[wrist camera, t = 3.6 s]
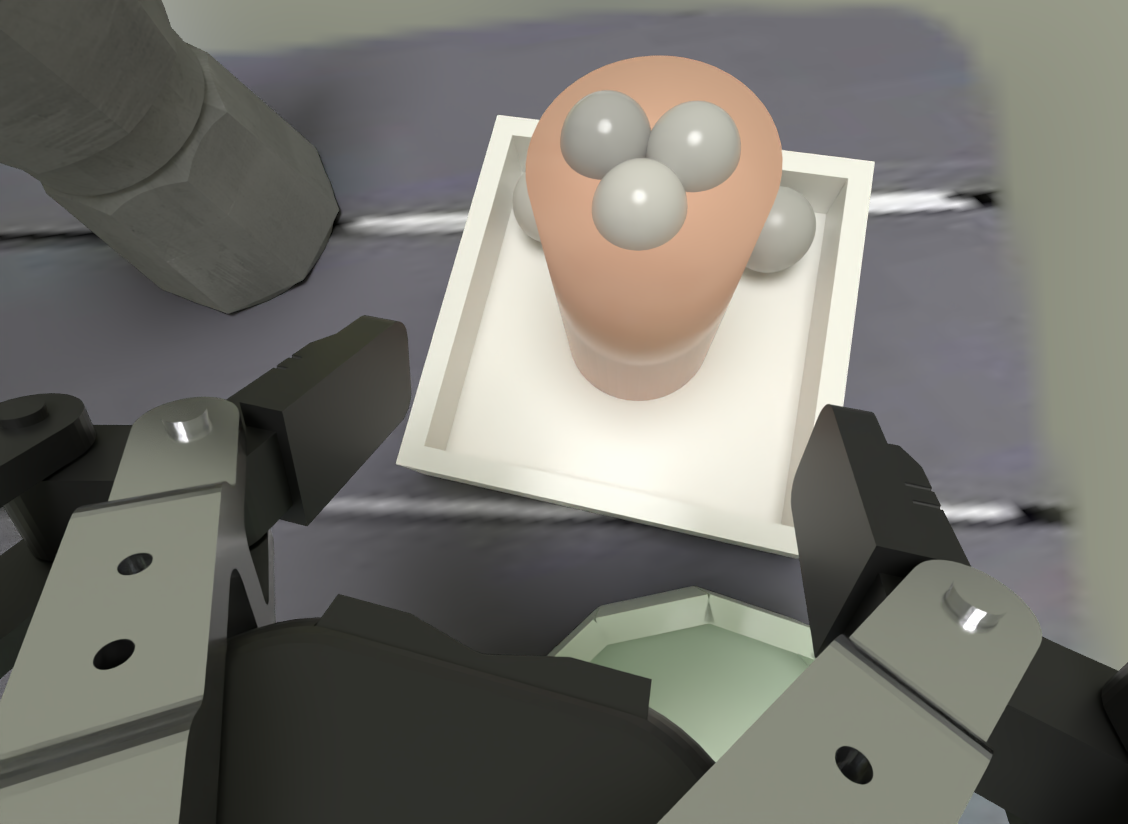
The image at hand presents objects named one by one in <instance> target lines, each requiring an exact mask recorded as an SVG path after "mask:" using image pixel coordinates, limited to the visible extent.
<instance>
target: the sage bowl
mask: <svg viewBox="0 0 1128 824" xmlns="http://www.w3.org/2000/svg"><path fill="white" fill-rule="evenodd" d="M547 656H556V657H572V658H576V659H579V660H583V661H587V662H590V663H594V664H598V665H601V666H605V667H609V668H612V669H616V670H620V671H623V672H627V673H631V674H634V675H638V676H642V677H645V678H649V679H652V682H651V691H650V700H649V707H650V708H652V709H654V710H655V711H657V712H659V713H660V714H662V715H664V716H665V717H666V718H668V719H669V720H671V721H672V722H673V723H675V724H676V725H678V726H679V727H680V728H682V729H683V730H684V731H685V732H686V733H687V734H688V735H689V736H690V737H692V738H693V739H694V740H695V741H696V742H697V743H698V744H699V745H700V746H701V747H702V748H703V749H704V750H705V751H706V752H707V753H708V755H709V756H710V757H711V758H712V759H713V760H714V761H715V762H717V761H718V760H719V759H720V758H721V757H722V756H723V755H724V754H725V753H726V751H727V750H728V749H729V748H730V747H731V746H732V745H733V744H734V743H735V742H736V741H737V740H738V739H739V738H740V737H741V736H742V735H743V734H744V733H745V732H746V731H747V730H748V729H749V728H750V727H751V726H752V724H753V723H754V722H755V721H756V720H757V719H758V718H759V717H760V716H761V715H762V714H763V713H764V712H765V711H766V710H767V709H768V708H769V707H770V706H771V705H772V704H773V703H774V702H775V701H776V700H777V699H778V698H779V696H780V695H781V694H782V693H783V692H784V691H785V690H786V689H787V688H788V687H789V686H790V685H791V684H792V683H793V682H794V681H795V680H796V679H797V678H798V677H799V676H800V675H801V674H802V673H803V672H804V671H805V669H806V668H807V667H808V666H809V665H810V664H811V663H812V662H813V661H814V660H815V659H816V658H815V657H814V650H813V644H812V637H811V631H810V626H809V625H806V624H804V623H802V622H799V621H797V620H795V619H792V618H790V617H787V616H784V615H781V614H778V613H775V612H772V611H769V610H766V609H763V608H760V607H757V606H754V605H751V604H748V603H745V602H742V601H739V600H736V599H733V598H730V597H727V596H724V595H721V594H718V593H715V592H712V591H709V590H706V589H703V588H700V587H697V586H695V587H694V586H691V587H686V588H681V589H676V590H672V591H667V592H662V593H658V594H653V595H648V596H644V597H639V598H634V599H630V600H625V601H620V602H616V603H611V604H606V605H602V606H600V608H599V607H598V608H597V609H595V610H594V611H593V612H592V613H591V614H590V615H589V616H588V617H587V618H586V619H585V620H584V621H583V622H582V623H581V624H580V625H579V626H578V627H576V628H575V629H574V630H573V631H572V632H571V633H570V634H569V635H568V636H567V637H566V638H565V639H564V640H563V641H562V642H561V643H560V644H559V645H558V646H556V647H555V648H554V649H553V650H552V651H551V652H550V653H549V654H548V655H547ZM957 824H958V823H957Z"/></svg>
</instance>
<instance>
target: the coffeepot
mask: <svg viewBox="0 0 1128 824" xmlns="http://www.w3.org/2000/svg"><path fill="white" fill-rule="evenodd" d="M0 163H2V164H5V165H8V166H11V167H15V168H18V169H21V170H23V171H25V172H27V173H28V174H30V175H31V176H33V177H34V178H36V179H38V180H39V181H41V183H42V185H43V187H44V189H45V192H46V193H47V194H48V195H49V196H50V197H52V198H53V199H54V200H55V201H56V202H58V203H59V204H60V205H61V206H62V207H64V208H65V209H66V210H67V211H68V212H70V213H71V214H72V215H73V216H74V217H76V218H77V219H78V220H79V221H80V222H82V223H83V224H84V225H85V226H86V227H88V228H89V229H90V230H91V231H92V232H94V233H95V234H96V235H97V236H98V237H100V238H101V239H102V240H103V241H104V242H106V243H107V244H108V245H109V246H110V247H112V248H113V249H114V250H115V251H116V252H118V253H119V254H120V255H121V256H122V257H124V258H125V259H126V260H127V261H128V262H130V263H131V264H132V265H133V266H134V267H136V268H137V269H138V270H139V271H140V272H142V273H143V274H144V275H145V276H146V277H148V278H149V279H150V280H151V281H152V282H154V283H155V284H156V285H157V286H158V287H160V288H161V289H162V290H165V291H167V292H170V293H173V294H176V295H178V296H181V297H183V298H186V299H188V300H191V301H193V302H195V303H198V304H201V305H205V306H208V307H211V308H213V309H216V310H219V311H222V312H224V313H227V314H229V313H232V312H235V311H238V310H242V309H245V308H248V307H251V306H254V305H257V304H260V303H262V302H265V301H268V300H271V299H272V298H274V297H276V296H278V295H280V294H282V293H283V292H285V291H287V290H288V289H289V288H291V287H292V286H293V285H294V284H296V283H298V282H300V281H302V280H304V278H305V277H306V276H307V274H308V273H309V272H310V270H311V269H312V268H313V266H314V265H315V263H316V262H317V260H318V259H319V257H320V255H321V254H322V252H323V251H324V249H325V247H326V244H327V242H328V239H329V237H330V234H331V232H332V227H333V222H334V219H335V217H336V215H337V213H338V211H339V208H338V205H337V203H336V200H335V197H334V194H333V190H332V186H331V182H330V181H329V179H328V177H327V175H326V173H325V171H324V168H323V165H322V163H321V160H320V157H319V155H318V152H317V149H316V148H315V147H314V146H313V145H312V144H311V143H310V142H308V141H307V140H306V139H305V138H304V137H303V136H302V135H300V134H299V133H298V132H297V131H296V130H295V129H294V128H292V127H291V126H290V125H289V124H288V123H287V122H286V121H285V120H283V119H282V118H281V117H280V116H279V115H278V114H277V113H275V112H274V111H273V110H272V109H271V108H270V107H269V106H267V105H266V104H265V103H264V102H263V101H262V100H261V99H260V98H258V97H257V96H256V95H255V94H254V93H253V92H252V91H250V90H249V89H248V88H247V87H246V86H245V85H244V84H242V83H241V82H240V81H239V80H238V79H237V78H236V77H235V76H233V75H232V74H231V73H230V72H229V71H228V70H227V69H225V68H224V67H223V66H222V65H221V64H220V63H219V62H217V61H216V60H215V59H214V58H213V57H212V56H211V55H210V54H208V53H207V52H205V51H203V50H201V49H198V48H196V47H194V46H192V45H190V44H188V43H185V42H184V41H183V40H182V39H181V38H180V37H179V36H178V34H177V33H176V32H175V31H174V30H173V29H172V28H171V26H170V22H169V19H168V16H167V14H166V11H165V8H164V5H163V3H162V1H161V0H0Z"/></svg>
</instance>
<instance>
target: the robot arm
mask: <svg viewBox="0 0 1128 824" xmlns="http://www.w3.org/2000/svg"><path fill="white" fill-rule="evenodd" d="M410 400H411V381H410V366H409V351H408V337H407V331H406V328H405V326H404V324H403V323H401V322H398V321H393V320H388V319H383V318H377V317H372V316H366V315H364V316H361V317H360V318H358V319H357V320H355V321H354V322H352V323H351V324H350V325H348V326H347V327H345V328H344V329H342V330H341V331H340V332H338V333H337V334H334V335H331V336H328V337H326V338H323V339H320V340H317V341H314V342H311V343H309V344H308V345H306V346H305V347H303V348H302V349H301V350H299V351H298V352H296V353H295V354H293V355H292V358H287V359H286V360H284V361H283V362H281V363H280V364H278V365H277V369H276V368H272V369H271V370H270V371H268V372H267V373H265V374H264V375H262V376H261V377H259V378H258V379H256V380H255V381H253V382H252V383H250V384H249V385H247V386H246V387H244V388H243V389H241V390H240V391H239V392H237V393H236V394H234V395H233V396H231V397H230V398H228V399H227V400H225V399H221V398H215V397H194V398H186V399H181V400H177V401H173V402H169V403H166V404H163V405H161V406H158V407H156V408H154V409H152V410H150V411H148V412H147V413H145V414H144V415H142V416H141V417H140V418H139V419H137V420H136V422H135V423H134V424H133V425H93V424H92V422H91V420H90V418H89V415H88V413H87V411H86V409H85V406H84V404H83V402H82V401H81V400H80V399H79V398H76V397H74V396H71V395H67V394H55V393H49V394H36V395H29V396H24V397H19V398H15V399H11V400H7V401H4V402H1V403H0V508H1V507H4V508H5V510H6V512H7V513H8V515H9V517H10V518H11V520H12V522H13V523H14V525H15V526H16V528H17V530H18V531H19V533H20V535H21V536H22V538H23V539H22V540H21V541H20V542H18V543H17V544H16V545H14V546H13V547H12V548H10V549H9V550H7V551H6V552H5V553H3V554H2V555H1V556H0V679H1V678H2V677H3V676H4V675H5V674H6V673H7V672H8V671H9V670H11V669H12V668H13V670H12V672H11V675H10V678H9V680H8V683H7V686H6V688H5V691H4V693H3V696H2V699H1V701H0V824H957V823H958V821H959V819H960V817H961V815H962V813H963V811H964V810H965V808H966V806H967V804H968V802H969V800H970V798H971V796H972V795H973V793H974V792H975V793H977V794H979V795H980V796H982V797H984V798H986V799H987V800H989V801H991V802H993V803H994V804H996V805H998V806H1000V807H1001V808H1003V809H1005V811H1006V814H1007V818H1008V821H1009V824H1128V663H1127V664H1126V665H1125V666H1124V667H1122V668H1121V669H1120V670H1119V671H1117V670H1115V669H1113V668H1111V667H1108V666H1106V665H1104V664H1102V663H1099V662H1097V661H1095V660H1093V659H1090V658H1088V657H1086V656H1084V655H1081V654H1079V653H1077V652H1075V651H1072V650H1070V649H1068V648H1066V647H1064V646H1061V645H1059V644H1057V643H1055V642H1053V641H1050V640H1048V639H1046V638H1044V637H1042V631H1041V628H1040V624H1039V622H1038V620H1037V619H1036V617H1035V615H1034V614H1033V612H1032V611H1031V610H1030V608H1029V607H1028V606H1027V605H1026V604H1025V603H1024V601H1023V600H1022V599H1021V598H1020V597H1018V596H1017V595H1016V594H1015V593H1014V592H1013V591H1012V590H1010V589H1009V588H1008V587H1006V586H1005V585H1004V584H1002V583H1001V582H999V581H998V580H996V579H994V578H993V577H991V576H989V575H987V574H985V573H984V572H982V571H979V570H977V569H975V568H973V567H971V566H970V564H969V562H968V559H967V557H966V555H965V553H964V551H963V549H962V547H961V545H960V543H959V541H958V539H957V537H956V535H955V533H954V531H953V529H952V527H951V525H950V523H949V521H948V519H947V517H946V515H945V513H944V511H943V510H940V506H941V505H940V503H939V501H938V499H937V497H936V495H935V493H934V492H932V491H931V489H932V487H931V485H930V483H929V481H928V479H927V477H926V475H925V473H924V471H923V469H922V467H921V466H920V465H919V464H918V463H917V462H916V461H915V460H914V459H913V458H912V457H911V456H910V455H909V454H908V453H907V452H906V451H904V450H903V449H902V448H901V447H900V446H898V445H893V444H888V443H887V441H886V439H885V437H884V434H883V432H882V430H881V428H880V425H879V423H878V421H877V418H876V416H875V414H874V413H873V412H869V411H863V410H858V409H853V408H847V407H842V406H837V405H832V404H826V405H825V406H824V407H823V409H822V410H821V412H820V414H819V416H818V418H817V421H816V423H815V426H814V428H813V431H812V433H811V436H810V438H809V441H808V443H807V446H806V448H805V451H804V453H803V456H802V458H801V461H800V463H799V466H798V468H797V471H796V474H795V477H794V480H793V485H792V491H791V509H792V516H793V522H794V528H795V535H796V541H797V548H798V554H799V561H800V567H801V573H802V580H803V586H804V593H805V599H806V605H807V612H808V618H809V625H810V631H811V637H812V644H813V650H814V657H815V658H816V659H815V660H814V661H813V662H812V663H811V664H810V665H809V666H808V667H807V668H806V669H805V671H804V672H803V673H802V674H801V675H800V676H799V677H798V678H797V679H796V680H795V681H794V682H793V683H792V684H791V685H790V686H789V687H788V688H787V689H786V690H785V691H784V692H783V693H782V694H781V695H780V696H779V698H778V699H777V700H776V701H775V702H774V703H773V704H772V705H771V706H770V707H769V708H768V709H767V710H766V711H765V712H764V713H763V714H762V715H761V716H760V717H759V718H758V719H757V720H756V721H755V722H754V723H753V724H752V726H751V727H750V728H749V729H748V730H747V731H746V732H745V733H744V734H743V735H742V736H741V737H740V738H739V739H738V740H737V741H736V742H735V743H734V744H733V745H732V746H731V747H730V748H729V749H728V750H727V751H726V753H725V754H724V755H723V756H722V757H721V758H720V759H719V760H718V761H717V762H715V761H714V760H713V759H712V758H711V757H710V756H709V755H708V753H707V752H706V751H705V750H704V749H703V748H702V747H701V746H700V745H699V744H698V743H697V742H696V741H695V740H694V739H693V738H692V737H690V736H689V735H688V734H687V733H686V732H685V731H684V730H683V729H682V728H680V727H679V726H678V725H676V724H675V723H673V722H672V721H671V720H669V719H668V718H666V717H665V716H664V715H662V714H660V713H659V712H657V711H655V710H654V709H652V708H650V707H649V700H650V691H651V682H652V679H649V678H645V677H642V676H638V675H634V674H631V673H627V672H623V671H620V670H616V669H612V668H609V667H605V666H601V665H598V664H594V663H590V662H587V661H583V660H579V659H576V658H572V657H556V656H522V655H489V654H482V653H479V652H476V651H474V650H472V649H470V648H469V647H467V646H465V645H464V644H462V643H460V642H458V641H457V640H455V639H453V638H451V637H450V636H448V635H446V634H445V633H443V632H441V631H439V630H438V629H436V628H434V627H433V626H431V625H429V624H427V623H426V622H424V621H422V620H421V619H419V618H417V617H415V616H414V615H412V614H410V613H406V612H403V611H399V610H395V609H392V608H388V607H384V606H381V605H377V604H373V603H370V602H366V601H362V600H359V599H355V598H351V597H348V596H344V595H340V594H338V595H337V597H336V598H335V599H334V601H333V602H332V604H331V605H330V606H329V608H328V609H327V611H326V612H325V613H324V615H323V616H322V617H321V618H319V617H315V618H303V619H294V620H288V621H283V622H277V623H276V621H275V577H274V540H273V536H272V532H271V527H272V526H273V525H274V524H275V523H276V522H277V521H278V520H279V519H281V520H285V521H289V522H293V523H297V524H300V525H304V526H308V525H309V524H310V523H311V522H312V521H313V519H314V518H315V517H316V516H317V515H318V514H319V513H320V512H321V511H322V509H323V508H324V507H325V506H326V505H327V504H328V503H329V502H330V500H331V499H332V498H333V497H334V496H335V495H336V494H337V493H338V492H339V490H340V489H341V488H342V487H343V486H344V485H345V484H346V483H347V482H348V480H349V479H350V478H351V477H352V476H353V475H354V474H355V473H356V471H357V470H358V469H359V468H360V467H361V466H362V465H363V464H364V463H365V461H366V460H367V459H368V458H369V457H370V456H371V455H372V454H373V453H374V451H375V450H376V449H377V448H378V447H379V446H380V445H381V444H382V442H383V441H384V440H385V439H386V438H387V437H388V436H389V435H390V434H391V432H392V431H393V430H394V429H395V428H396V427H397V426H398V425H399V424H400V422H401V421H402V420H403V419H404V417H405V415H406V413H407V411H408V408H409V405H410Z"/></svg>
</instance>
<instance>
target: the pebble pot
mask: <svg viewBox="0 0 1128 824" xmlns="http://www.w3.org/2000/svg"><path fill="white" fill-rule="evenodd" d="M782 162H783V157H782V149H781V142H780V139H779V135H778V132H777V129H776V126H775V124H774V122H773V120H772V118H771V116H770V114H769V113H768V111H767V109H766V108H765V106H764V105H763V103H762V102H761V101H760V100H759V99H758V98H757V96H756V95H755V94H754V93H753V92H752V91H751V90H750V89H749V88H747V87H746V86H745V85H744V84H743V83H742V82H740V81H739V80H737V79H736V78H734V77H733V76H731V75H730V74H728V73H726V72H724V71H722V70H720V69H718V68H716V67H714V66H711V65H709V64H706V63H703V62H700V61H696V60H692V59H688V58H682V57H674V56H644V57H636V58H631V59H626V60H621V61H618V62H615V63H612V64H609V65H606V66H603V67H601V68H599V69H597V70H594V71H592V72H590V73H589V74H587V75H585V76H584V77H582V78H580V79H578V80H577V81H576V82H574V83H573V84H572V85H570V86H569V87H568V88H566V89H565V90H564V91H563V92H562V93H561V94H560V95H559V96H558V97H557V98H556V99H555V100H554V101H553V102H552V104H551V105H550V106H549V107H548V108H547V110H546V111H545V112H544V114H543V116H542V117H541V119H540V120H539V122H538V124H537V126H536V128H535V130H534V133H533V135H532V137H531V141H530V144H529V147H528V151H527V158H526V184H527V191H528V195H529V199H530V203H531V207H532V210H533V214H534V218H535V221H536V225H537V229H538V233H539V236H540V240H541V244H542V248H543V251H544V255H545V259H546V262H547V266H548V270H549V274H550V277H551V281H552V285H553V288H554V292H555V296H556V300H557V303H558V307H559V311H560V314H561V318H562V322H563V326H564V329H565V333H566V337H567V340H568V344H569V348H570V351H571V355H572V358H573V360H574V362H575V364H576V366H577V368H578V369H579V371H580V372H581V374H582V375H583V376H584V377H585V378H586V380H588V381H589V382H590V383H591V384H592V385H593V386H594V387H596V388H597V389H599V390H600V391H602V392H604V393H606V394H608V395H610V396H613V397H616V398H619V399H624V400H631V401H647V400H653V399H658V398H661V397H664V396H667V395H669V394H671V393H673V392H675V391H677V390H678V389H680V388H682V387H683V386H684V385H685V384H687V383H688V382H689V381H690V380H691V379H692V378H693V377H694V376H695V374H696V373H697V372H698V370H699V369H700V367H701V366H702V364H703V362H704V360H705V358H706V355H707V353H708V351H709V349H710V346H711V344H712V342H713V340H714V337H715V335H716V333H717V331H718V328H719V326H720V324H721V322H722V319H723V317H724V315H725V312H726V310H727V308H728V306H729V303H730V301H731V299H732V297H733V294H734V292H735V290H736V288H737V285H738V283H739V281H740V279H741V276H742V274H743V272H744V270H745V267H746V265H747V263H748V261H749V258H750V256H751V254H752V251H753V249H754V247H755V245H756V242H757V240H758V238H759V236H760V233H761V231H762V229H763V227H764V224H765V222H766V220H767V218H768V215H769V213H770V211H771V209H772V206H773V204H774V201H775V199H776V196H777V193H778V190H779V187H780V182H781V176H782Z"/></svg>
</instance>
